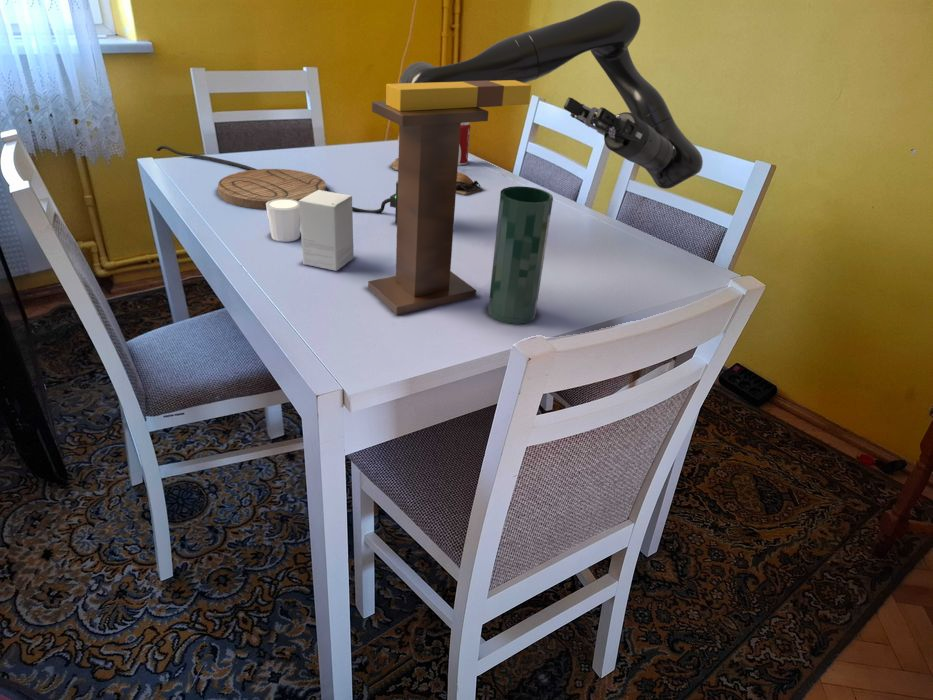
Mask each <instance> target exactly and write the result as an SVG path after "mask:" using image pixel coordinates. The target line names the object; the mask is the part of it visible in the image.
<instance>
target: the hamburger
mask: <svg viewBox="0 0 933 700" xmlns="http://www.w3.org/2000/svg"><path fill="white" fill-rule="evenodd" d="M479 191H482V187H481V184H480V183H479V181H477V180H473V179H472V178H471V177H469V176H468V175H467V174H465V173H462V172H458V171H457V184H456V194H459V195H464V196H466V195H467V196H468V195H471V194H474V193H478V192H479Z"/></svg>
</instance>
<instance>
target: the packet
mask: <svg viewBox="0 0 933 700" xmlns="http://www.w3.org/2000/svg"><path fill="white" fill-rule="evenodd" d="M531 92H532V85H531V84H529V83H522V82H519V81H516V80H502V81H462V82H435V83H401V84H400V83H385V101H386V105H388V106H390V107H392V108H394V109H397V110H399V111H414V110H433V109H452V108H471V107H477V108H492V107H493V108H495V107H496V108H497V107H503V106H504V107H505V106H525V105H530V99H531Z"/></svg>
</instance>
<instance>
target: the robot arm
mask: <svg viewBox="0 0 933 700" xmlns="http://www.w3.org/2000/svg"><path fill="white" fill-rule="evenodd" d="M641 21H642V20H641V14H640V12H639V10H638V7H637V6H635V5H634V4H632V3H631V2H629V1H626V0H612V1H608V2H605V3H603V4H601V5H599V6H596V7H593V9H590V10H588V11H586V12H584V13H581V14H579V15H576V16H574V17H571V18H568V19H565V20H561V21H558V22H554V23H551V24H548V25H545V26H542V27H539V28H536V29H532V30H528V31H524V32H521V33H518V34H515V35H513V36H509V37H506V38H503V39H501V40H499V41H497V42H495V43H493V44H492V45H490V46H489V47H487V48H486V49H484V50H483V51H481V52H480V53H478V54H477V55H475V56H473V57H471V58H468V59H466V60H463V61H459V62H455V63H450V64H447V65H440V66H435V65H433V64H431V63H429V62H426V61H417V62H413V63H411V64H410V65H408V66H407V67H406V68H405V69H404V71H403V72H402V74H401V76H400V80H399V84H401V83H435V82H462V81H502V80H516V81H519V82H522V83H526V84H528V83H530V82H533V81H536V80H538V79H540V78H543V77H546V76H548V75H549V74H551V73H552V72H554V71H556V70H557V69H559V68H561V67H562V66H564V65H565V64H567V63H568V62H570V61H571V60H573V59H575V58H577V57H578V56H580V55H582V54H584V53H587V52H590V53H591V54H592V56H593V57H594V59H595V60H596V62H597V63H598V64H599V66H600V67H601V69H602V70H603V71H604V73H605V74H606V76H607V77H608V79H609V80H610V82H611V83H612V85H613V86H614V88H615V89H616V91H617V93H618V94H619V95H620V97H621V98H622V100H623V102H624V103H625V106H626V108H627V109H628V111H629V112H627V111H625V112H620V113H618V114H614V113H613V112H612V111H610V110H609V109H607V108H605V107H599V108H597V107H596V106H593V107H589V106H587V105H585V104H584V103H581V102H579V101H578V100H576V99H574V97H567V99H566V101H565V103H564V105H563V109H564V110H565V111H568V113H570V117H571V118H572V119H575V120H577V121H579V122H580V123H582V124H584V125H585V126H587V127H588V128H591V129H592V130H595V131H596V132H597V133H598V134H600V135H601V136H603V141H604V144H605V146H606V148H607V149H608V150H610V151H611V152H613V153H614V154H616V155H618V156H620V157H622V158H624V159H625V160H627V161H629V162H631V163H634V164H636V165H637V166H639V167H641V168H643V169H645V171H646V172H647V173H648V174H649V176H650V177H651V178H652V181H653V182H654V183H655V186H657V187H658V188H660V189H663V190H664V189H665V190H668V189H672V188H674V187H676V186H678V185H680V184H682V183H683V182H685V181H687V180H689V179H690V178H692V177H694V176H696V175H698V174H700V172H701V171H702V169H703V163H704V161H703V156H702V154H701V152H700V150H699V149H698V148H697V147H696V146H695V145H694V144H693V142H692V141H690V140H689V139H688V137H687V136H686V135H685V134H684V133H683V131H682V130H681V129H680V128H679V126H678V125H677V124H676V123H677V122H675V120H674V118H673V116H672V113H671V111H670V109H669V107H668V105H667V103H666V101H665V99H664V98H663V96H662V95H661V93H660V92H659V91H658V90H657V89H656V88H655V87H654V86H653V85H652V84H651V83H650V82H649V81H647V79H645V77H644V76H642V75H641V73H640V71H638V69H637V67H636V66H635V64H634V62H633V60H632V57H631V54H630V51H629V46H630V45H631V44H632V43H633V40H635V38H636V36H637V34H638V32H639V30H640V28H641ZM163 149H164V150H167V151H170V152H172V153H173V154H177V155H180V156H184V157H190V158H197V159H202V160H207V161H212V162H218V163H222V164H227V165H232V166H235V167H239V168H241V169H245V170H247V171H249V170H258V168H255V167H252V166H249V165H246V164H242V163H238V162H235V161H230V160H227V159H223V158H218V157H214V156H207V155H202V154H196V153H191V152H184V151H179V150H177V149H174V148H173V147H170V146H168V145H164V144H163V145H162V144H161V145H159V146H158V147H157V148H156V149H155V150H156V152H160V151H161V150H163ZM388 203H389V207H390V208H394V209H395V214H394V216H395V217H394V220H395V221H394V222H395V224H396V225H397V203H398V180H396V182H395V193H394V194H392V195H390V196H389V198H386V199H383V201H382V202H381V205H380V208H378V209H374V210H368V209H362V208H359V207H354V206H352V212H357V213H369V214H370V213H371V214H380V213H382V212H384V210H385V207H386V205H387V204H388Z"/></svg>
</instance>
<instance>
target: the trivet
mask: <svg viewBox="0 0 933 700" xmlns="http://www.w3.org/2000/svg"><path fill="white" fill-rule="evenodd" d="M257 169H258V168H257ZM217 190H218V196H219V197H220V198H221V199H222V200H223V201H225V202H227V203H229V204H232V205H235V206H239V207H242V208H243V207H244V208H250V209H257V210H259V209H260V210H267V208H266V203H267V202H268V201H271V200H275V199H293V200H296V201H298V202H299V200H301V199H303V198H304V197H306V196H308V195H310V194H311V193H313V192H315V191H317V190H322V191H327V183H326V181H325V180H324V179H323V178H321V177H320V176H318V175H316V174H313V173H309V172H306V171H301V170H295V169H283V168H259V169H258V170H244V171H238V172H235V173H231V174H228V175H226V176H224V177H222V178H221V179H220V180H219V181H218V183H217Z"/></svg>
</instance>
